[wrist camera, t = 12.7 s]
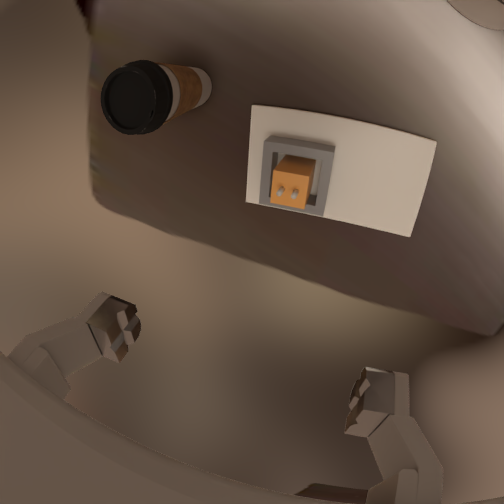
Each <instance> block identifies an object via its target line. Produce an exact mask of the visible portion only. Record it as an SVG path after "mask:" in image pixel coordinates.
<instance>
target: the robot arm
mask: <svg viewBox="0 0 504 504" xmlns="http://www.w3.org/2000/svg"><path fill="white" fill-rule="evenodd" d="M448 2H449V3H450V4H451V5H452V6H453V7H454V8H455V9H456V10H458V11H459V12H460V13H461V14H462V15H464V16H465V17H466V18H468V19H469V20H471V21H473V22H475V23H476V24H478V25H481V26H483V27H486V28H489V29H493V30H504V0H448ZM136 313H137V308H136V305H135V304H132V303H130V302H127V301H125V300H122V299H120V298H117V297H114V296H112V295H110V294H107V293H104V292H101V293H98V295H97V296H96V297H95V298H94V299H93V300H92V301H91V302H90V303H89V304H88V305H87V306H86V307H85V308H84V309H83V311H82V312H81V313H80V314H79V315H78V316H77V317H76V318H74V317H72V318H69V319H66V320H64V321H61V322H59V323H57V324H54V325H51V326H49V327H46V328H44V329H41V330H39V331H36V332H34V333H31V334H29V335H26V336H25V337H24V338H23V339H22V340H21V342H20V343H19V344H18V345H17V346H16V347H15V348H14V349H13V351H12V352H11V353H10V354H9V355H8V356H7V357H6V356H5V355H4V354H3V353H2V352H1V351H0V504H349V503H339V502H331V501H324V500H317V499H311V498H305V497H300V496H295V495H290V494H284V493H280V492H276V491H272V490H267V489H263V488H259V487H256V486H252V485H248V484H245V483H241V482H237V481H234V480H231V479H228V478H225V477H222V476H218V475H215V474H213V473H210V472H207V471H204V470H201V469H198V468H196V467H193V466H190V465H188V464H185V463H183V462H180V461H178V460H175V459H173V458H171V457H168V456H166V455H164V454H161V453H159V452H157V451H155V450H152V449H150V448H148V447H146V446H144V445H142V444H140V443H138V442H136V441H134V440H132V439H130V438H128V437H126V436H124V435H122V434H120V433H118V432H116V431H114V430H113V429H111V428H109V427H107V426H105V425H104V424H102V423H100V422H98V421H96V420H95V419H93V418H91V417H90V416H88V415H87V414H85V413H83V412H82V411H80V410H78V409H77V408H75V407H74V406H72V405H71V404H69V403H67V402H66V401H64V398H65V397H66V396H67V394H68V393H69V391H70V390H71V387H70V385H69V383H68V382H67V380H66V379H65V378H66V377H67V376H69V375H71V374H73V373H75V372H76V371H78V370H80V369H82V368H83V367H85V366H87V365H89V364H90V363H92V362H94V361H96V360H98V359H99V358H101V357H102V356H104V357H106V358H109V359H111V360H113V361H115V362H118V363H120V362H121V361H122V359H123V358H124V357H125V355H126V354H127V352H128V345H130V344H132V343H134V342H135V341H136V340H137V338H138V337H139V334H140V331H141V322H140V319H139V318H138V317H137V316H136ZM349 407H350V409H351V412H350V413H349V414H348V416H347V420H346V427H345V434H351V435H356V436H362V437H368V438H367V439H368V442H369V444H370V447H371V449H372V452H373V454H374V457H375V459H376V462H377V464H378V467H379V469H380V471H381V474H382V477H383V479H384V481H383V482H381V483H379V484H378V485H376V486H374V487H372V488H371V489H369V490H368V495H367V500H366V504H441V498H442V484H443V468H442V466H441V464H440V462H439V461H438V459H437V457H436V455H435V454H434V452H433V450H432V448H431V447H430V445H429V443H428V442H427V440H426V438H425V436H424V435H423V433H422V431H421V430H420V428H419V426H418V425H417V423H416V421H415V420H414V418H413V417H409V376H408V374H405V373H398V372H393V371H388V370H382V369H375V368H370V367H364V368H363V370H362V372H361V376H360V379H358V380H357V381H356V382H355V384H354V386H353V389H352V391H351V395H350V400H349ZM459 504H504V497H499V498H493V499H488V500H481V501H475V502H467V503H459Z"/></svg>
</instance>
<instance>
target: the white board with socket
mask: <svg viewBox="0 0 504 504" xmlns="http://www.w3.org/2000/svg"><path fill="white" fill-rule="evenodd" d="M436 144H437V142H436V141H435V140H432V139H429V138H425V137H422V136H419V135H415V134H412V133H408V132H404V131H401V130H397V129H393V128H389V127H385V126H381V125H377V124H372V123H368V122H364V121H359V120H354V119H349V118H344V117H339V116H334V115H328V114H323V113H317V112H311V111H304V110H297V109H290V108H282V107H274V106H265V105H255V104H254V105H252V110H251V126H250V142H249V158H248V175H247V192H246V202H249V203H255V204H260V205H265V206H271V207H276V208H281V209H286V210H291V211H296V212H301V213H306V214H310V215H315V216H320V217H325V218H329V219H334V220H338V221H343V222H347V223H352V224H356V225H361V226H365V227H369V228H374V229H378V230H382V231H386V232H390V233H394V234H399V235H403V236H407V237H410V235H411V232H412V229H413V226H414V223H415V220H416V217H417V214H418V211H419V208H420V204H421V201H422V198H423V194H424V191H425V187H426V184H427V180H428V177H429V173H430V169H431V165H432V161H433V157H434V153H435V149H436ZM285 155H292V156H298V157H303V158H309V159H314V160H316V165H315V172H314V178H313V184H312V189H311V192H310V195H309V198H308V200H307V203H306V206H305V209H299V208H295V207H290V206H285V205H280V204H275V203H270V199H271V189H272V179H273V170H274V169H275V167H276V166H277V165H278V164H279V162H280V161H281V160H282V159H283V158H284V156H285Z"/></svg>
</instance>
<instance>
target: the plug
mask: <svg viewBox="0 0 504 504" xmlns="http://www.w3.org/2000/svg"><path fill="white" fill-rule="evenodd" d="M315 165H316V160H314V159H309V158H303V157H298V156H292V155H285V156H284V158H283V159H282V160H281V161H280V162H279V164H278V165H277V166H276V167H275V169H274V170H273V179H272V189H271V199H270V203H275V204H280V205H285V206H290V207H295V208H299V209H305V206H306V203H307V200H308V198H309V195H310V192H311V189H312V184H313V178H314V172H315Z"/></svg>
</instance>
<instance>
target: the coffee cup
mask: <svg viewBox="0 0 504 504" xmlns="http://www.w3.org/2000/svg"><path fill="white" fill-rule="evenodd" d="M211 90H212V83H211V80H210V77H209V76H208V74H207V73H206V72H205V71H203V70H202V69H199V68H195V67H186V66H181V65H173V64H165V63H154V62H151V61H147V60H139V61H134V62H130V63H128V64H126V65H124V66H122V67H120V68H118V69H116V70H114V71H113V72H112V73H111V74H110V75H109V76H108V77H107V79H106V81H105V82H104V85H103V87H102V92H101V106H102V110H103V113H104V115H105V117H106V119H107V120H108V122H109V123H110V124H111V125H112V126H113V128H115V129H116V130H117V131H119V132H121V133H124V134H128V135H134V134H146V133H150V132H153V131H155V130H156V129H158V128H159V127H160V126H161V125H163V124H165V123H167V122H169V121H170V120H172V119H174V118H176V117H178V116H180V115H182V114H184V113H186V112H188V111H189V110H191V109H193V108H196V107H198V106H200V105H202V104H203V103H205V102H206V101H207V99H208V98H209V96H210V94H211Z"/></svg>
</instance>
